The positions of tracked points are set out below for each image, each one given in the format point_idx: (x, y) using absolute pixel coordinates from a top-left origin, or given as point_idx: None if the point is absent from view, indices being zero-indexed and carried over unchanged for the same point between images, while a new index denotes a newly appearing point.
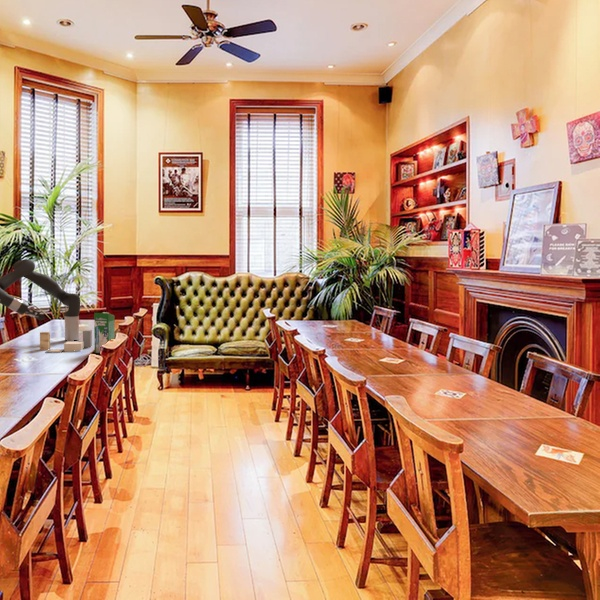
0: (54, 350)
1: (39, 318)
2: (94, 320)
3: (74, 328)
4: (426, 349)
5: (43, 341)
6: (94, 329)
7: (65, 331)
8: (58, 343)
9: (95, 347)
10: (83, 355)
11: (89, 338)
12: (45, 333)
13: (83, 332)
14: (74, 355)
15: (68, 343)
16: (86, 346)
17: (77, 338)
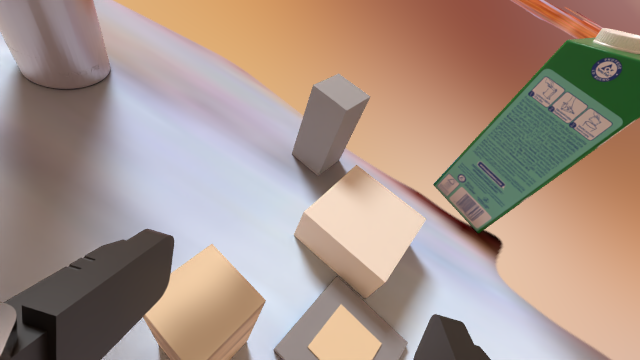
0: (346, 349)
1: (136, 304)
2: (631, 122)
3: (85, 8)
4: (583, 16)
5: (223, 357)
6: (573, 164)
7: (20, 32)
8: (74, 150)
9: (497, 219)
10: (529, 306)
11: (351, 130)
12: (244, 322)
13: (346, 116)
14: (518, 339)
15: (384, 255)
16: (330, 165)
17: (107, 57)
